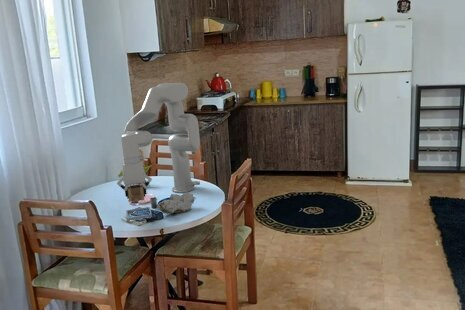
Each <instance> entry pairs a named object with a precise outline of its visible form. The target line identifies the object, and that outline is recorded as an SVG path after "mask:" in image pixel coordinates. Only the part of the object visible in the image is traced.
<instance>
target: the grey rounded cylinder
mask: <svg viewBox="0 0 465 310" xmlns="http://www.w3.org/2000/svg"><path fill="white" fill-rule="evenodd" d="M149 200H150V204H151V205H150V208H151V209H157V208H158V206H157V204H158V201H157V198H156V197H155V196H154V197H149Z"/></svg>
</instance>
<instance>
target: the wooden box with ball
mask: <svg viewBox="0 0 465 310" xmlns="http://www.w3.org/2000/svg"><path fill="white" fill-rule="evenodd" d="M127 189H128V196H129V199H128V202H129V203H130V202H134V203H138V202H140V201H145V197H144V191H143V186H142V184H134V185H129V186H128V188H127Z"/></svg>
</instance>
